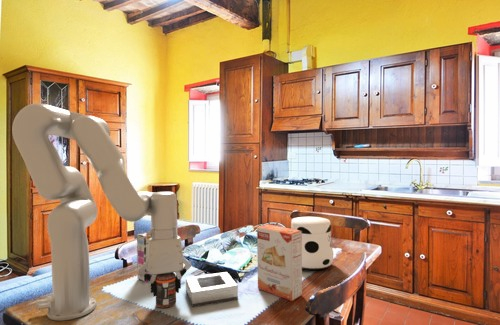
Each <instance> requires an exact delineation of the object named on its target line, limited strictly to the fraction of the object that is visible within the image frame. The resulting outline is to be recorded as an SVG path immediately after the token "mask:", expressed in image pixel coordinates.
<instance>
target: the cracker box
mask: <svg viewBox="0 0 500 325" xmlns="http://www.w3.org/2000/svg"><path fill="white" fill-rule="evenodd" d="M256 235H257V236H256V237H257V239H256V240H257V248H256V250H257V254H256V255H257V289H258V290H260V291H261V290H262V291H263V292H267V293H269V294H271V295H275V296H277V297H280V298H282V299H285V300H286V301H287V300H288V301H290V302H293V301H295V300H296V299H298V298H300V297H301V296H303V269H302V231H300V230H294V229H291V228H289V227H284V226H280V225H274V224H263V225H259V226H257V227H256Z"/></svg>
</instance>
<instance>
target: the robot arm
mask: <svg viewBox="0 0 500 325" xmlns="http://www.w3.org/2000/svg"><path fill="white" fill-rule="evenodd" d="M11 127H12V129H11V130H12V132H11V133H12V134H11V135H12V139H13V142H14V143H15V145H16V147H17V150H18V151H19V153H20V154H19V155H21V157H22V159H23V160H22V161H24V164H25V167H26V169H27V171H28V173H29V176H30V178H31V180H32V182H33V184H34V186H35V190H36V192H37V193H38V196H40V197H41V198H42V199H45V200H47V201H58V200H59V203H60V204H58V205H56V206H55V207H54V208H52V210H51V211H50V212H49V214H48V216H47V219H46V229H47V234H48V237H49V238H48V239H49V243H50V254H51V259H50V260H51V282H52V283H51V284H52V296H50V297H48V298H46V299H45V298H43V299H37V300H36V301H35V308H38V310H44V309H47V311H46V317H47V318H48V319H49V320H51V321H68V320H73V319H78V318H81V317H83V316H86V315H87V314H90V313H91V312H92V311H94V310H95V308H96V307H97V300H96V299H95V298H93V297H91V280H90V279H91V278H90V277H91V276H90V275H91V274H90V251H89V250H90V249H89V247H90V246H89V241H88V236H87V233H86V228H88V227H90V226H91V225H92V224H94V223H95V221H96V219H97V218H98V207H97V204H96V201H95V199H94V196H93V194H92V191H91V190H90V188H89V185H88V183H87V180H86V178H85V177H84V175H83V174H82V173H81V172H80V171H79V170H78V169H77V168H75V167H73V166H69V165H64V163H63V161H62V159H61V157H60V154H59V152H58V150H57V148H56V147H55V145H54V144H53V143H52V142H51V140H50V138H49V136H57V137H62V138H66V139H70V140H74V141H75V143H76V144H77V146H78V147H79V149H80V151H82V153H83V154H84V156H85V157H86V159H87V160H88V161H89V162H88V163H90V165H91V167H92V168H93V169H94V171H95V173H96V175H97V179H98V181H99V184H100V186H101V189H102V191H103V193H104V196H105V197H106V199H107V201H108V202H109V203H110V204H111V206H112V208H113V209H114V211H115V212H116V213H117V215H119V217H121V218H122V219H123V220H124V221H126V222H131V223H132V222H134V223H135V222H137V221H140V220H141V219H143V218H144V217H145V216H147V215H150V223H151V224H150V225H151V226H150V227H151V228H150V230H146V231H145V233H146V236H151V237H152V238H150V239H149V244H148V258H147V261H146V262H145V263H144V264H143V265H142V267H141V268H140V269H139V270H138V273H139V274H140V275H142V276H143V277H144V278H145V279H147V280H148V282H149V283H150V293H151V294H152V295H153V298H154V297H155V298H156V282H155V278H156V275H157V274H165V273H172V272H173V273H175V275H176V294H179V291H180V289H181V288H182V286H181V285H182V282H181V281H182V278H183V277H184V275H185V274H186V273H187V272H188V270H189V269H190V268H191V267H192V263H191V262H190V261H189V260H187V258H185V257H184V255H183V252H184V251H183V246H182V239H181V236H180V235H178V203H177V202H178V199H177V194H176V193H175V192H174V191H157V192H156V191H155V192H151V191H145V190H143V191H142V190H136V189H135V187H134V186H133V184H132V183H131V180H130V179H129V177H128V175H127V172H126V166H125V165H126V164H125V162H126V161H125V158H124V155H123V153H122V152H121V151H120V150H119V148H118V146H117V145H116V143H115V142H114V141H113V139H112V137H111V127H110V125H109V124H108V123H107V122H106V121H105V120H104V119H102V118H99V117H96V116H93V115H89V114H88V115H87V114H86V115H85V114H82V113H79V112H75V111H71V110H69V109H65V108H61V107H58V106H55V105H52V104H51V105H50V104H47V103H39V102H37V103H31V104H28V105H26V106H24V107H23V108H21V109H19V111H18V113H17V114H16V116H15V117H14V120H13V122H12V126H11ZM147 267H148V272H149V274H148V273H147V272H145V270H146V268H147ZM150 274H151V275H150Z"/></svg>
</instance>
